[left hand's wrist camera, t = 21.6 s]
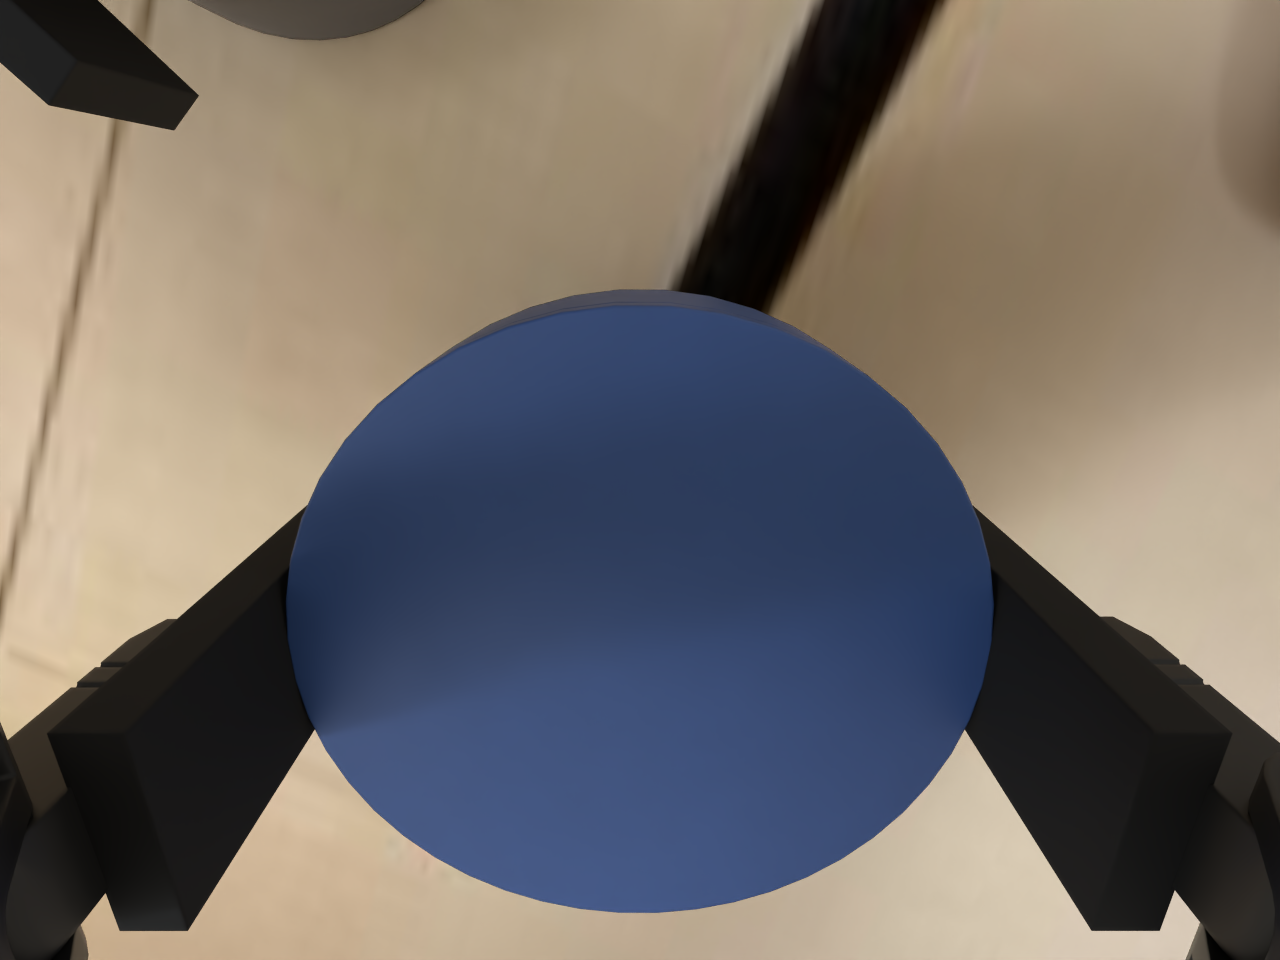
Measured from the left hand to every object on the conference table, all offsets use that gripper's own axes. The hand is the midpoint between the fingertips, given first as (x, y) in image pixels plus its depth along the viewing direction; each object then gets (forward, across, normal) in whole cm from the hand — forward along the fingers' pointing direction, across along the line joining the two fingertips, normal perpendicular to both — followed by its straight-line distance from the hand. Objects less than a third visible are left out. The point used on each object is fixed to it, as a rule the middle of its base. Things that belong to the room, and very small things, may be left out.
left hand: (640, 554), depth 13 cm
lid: (-3, 0, 0) cm, 3 cm away
